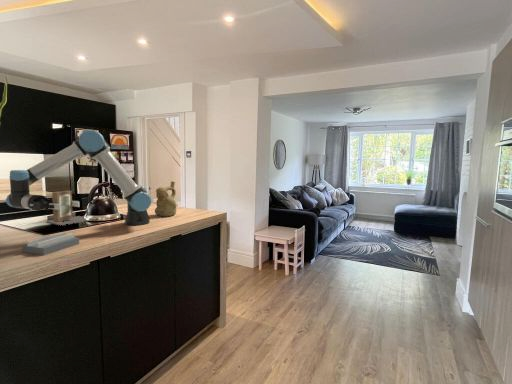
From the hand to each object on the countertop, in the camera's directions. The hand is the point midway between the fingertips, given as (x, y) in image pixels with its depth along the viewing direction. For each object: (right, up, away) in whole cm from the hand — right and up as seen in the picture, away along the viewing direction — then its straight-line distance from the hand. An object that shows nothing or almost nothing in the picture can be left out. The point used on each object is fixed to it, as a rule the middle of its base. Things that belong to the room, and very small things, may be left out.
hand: (69, 205), depth 139 cm
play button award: (-32, -13, +50) cm, 61 cm away
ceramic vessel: (+23, -11, +79) cm, 82 cm away
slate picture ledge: (-5, -19, -5) cm, 21 cm away
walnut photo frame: (-5, -7, +2) cm, 9 cm away
